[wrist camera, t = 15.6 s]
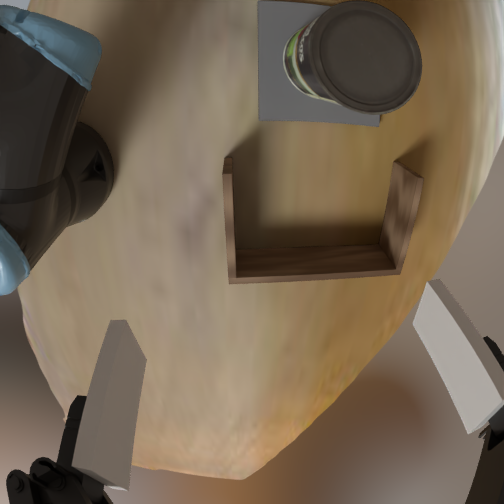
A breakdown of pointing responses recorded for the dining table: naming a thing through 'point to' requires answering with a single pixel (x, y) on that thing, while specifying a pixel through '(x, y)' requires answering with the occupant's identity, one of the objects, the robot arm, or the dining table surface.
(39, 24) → the robot arm
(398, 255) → the walnut u-shaped frame
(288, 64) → the coffee can
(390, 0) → the dining table surface
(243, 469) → the dining table surface
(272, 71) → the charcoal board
